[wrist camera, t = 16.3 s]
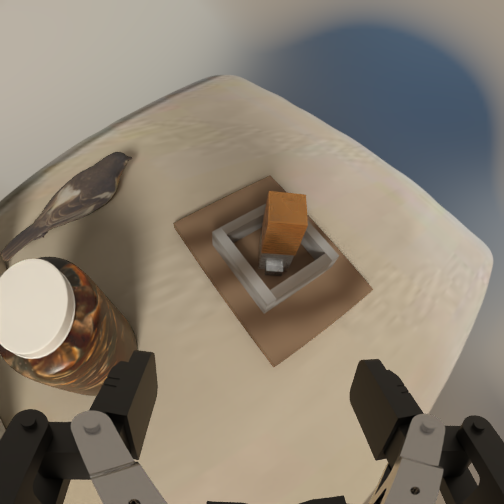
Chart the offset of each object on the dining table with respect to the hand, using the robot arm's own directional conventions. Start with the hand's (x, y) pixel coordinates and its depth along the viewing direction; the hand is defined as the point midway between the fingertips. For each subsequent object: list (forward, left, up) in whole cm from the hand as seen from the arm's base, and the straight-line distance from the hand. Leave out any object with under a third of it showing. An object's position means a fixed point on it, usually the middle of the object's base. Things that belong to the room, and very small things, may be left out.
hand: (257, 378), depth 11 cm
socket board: (-12, +14, -23) cm, 29 cm away
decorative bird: (-33, -6, -23) cm, 41 cm away
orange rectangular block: (-12, +14, -22) cm, 28 cm away
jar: (-14, -11, -23) cm, 29 cm away
